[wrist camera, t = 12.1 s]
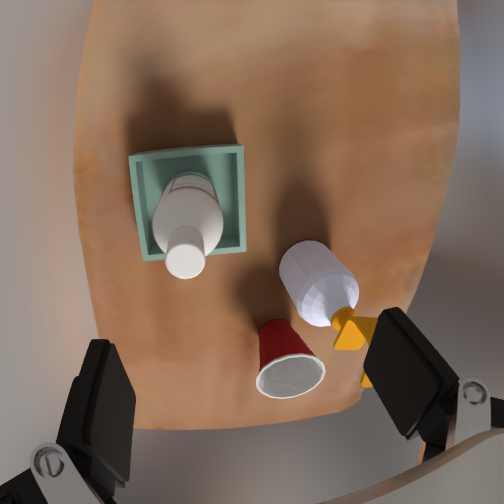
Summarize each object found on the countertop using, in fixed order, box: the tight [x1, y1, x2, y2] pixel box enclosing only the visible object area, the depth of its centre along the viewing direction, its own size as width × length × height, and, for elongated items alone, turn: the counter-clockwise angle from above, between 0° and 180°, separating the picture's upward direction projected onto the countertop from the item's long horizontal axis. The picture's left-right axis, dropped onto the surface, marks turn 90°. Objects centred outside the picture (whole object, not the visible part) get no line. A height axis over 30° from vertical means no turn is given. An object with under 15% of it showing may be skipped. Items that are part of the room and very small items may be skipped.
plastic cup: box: [256, 319, 326, 399], centre depth 46 cm, size 11×11×12 cm
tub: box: [129, 143, 246, 261], centre depth 37 cm, size 14×14×5 cm
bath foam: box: [152, 171, 223, 279], centre depth 30 cm, size 7×7×20 cm
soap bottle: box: [279, 241, 378, 388], centre depth 36 cm, size 9×9×25 cm
